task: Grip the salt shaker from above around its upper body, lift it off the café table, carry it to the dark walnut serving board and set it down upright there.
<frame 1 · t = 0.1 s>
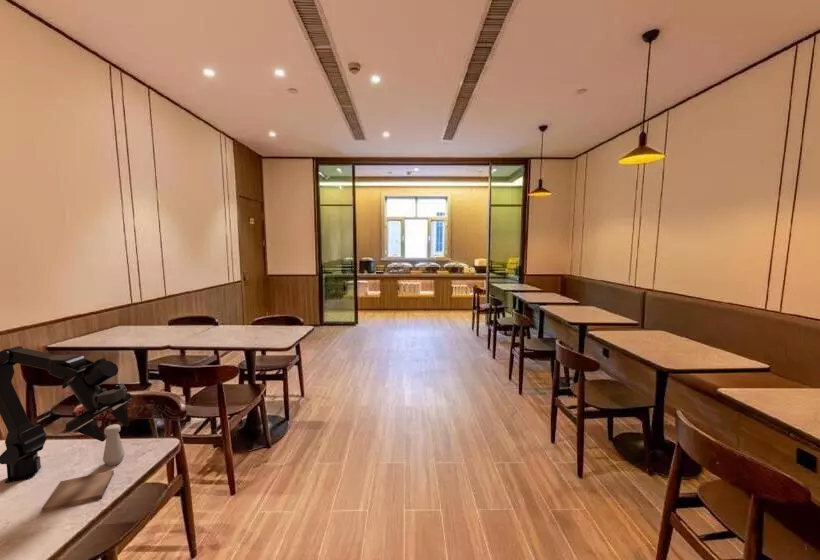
hand: (116, 433, 115), 15 cm above the table, tool tilted 30°, fingers open, 9 cm apart
walnut board: (80, 491, 109), on the table
salt shaker: (114, 463, 124), on the table
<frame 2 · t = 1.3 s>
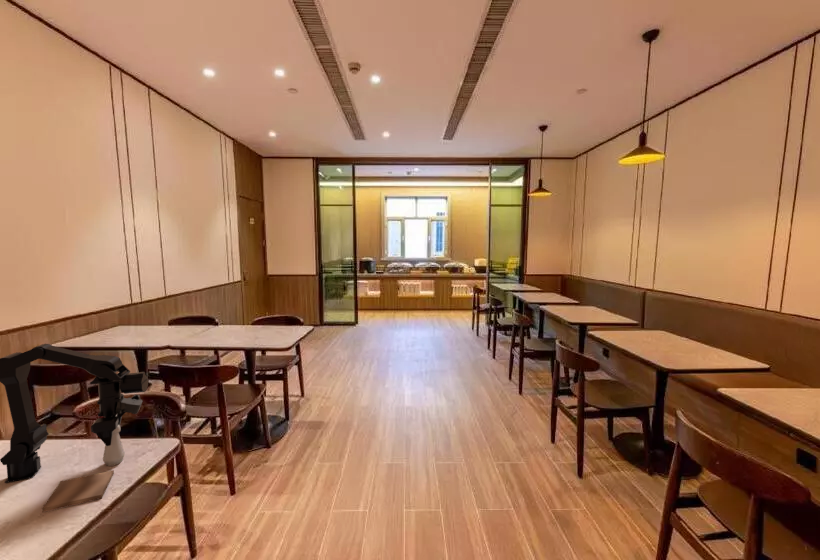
hand: (112, 439, 123), 8 cm above the table, tool pointing down, fingers open, 9 cm apart
nothing on the table moved.
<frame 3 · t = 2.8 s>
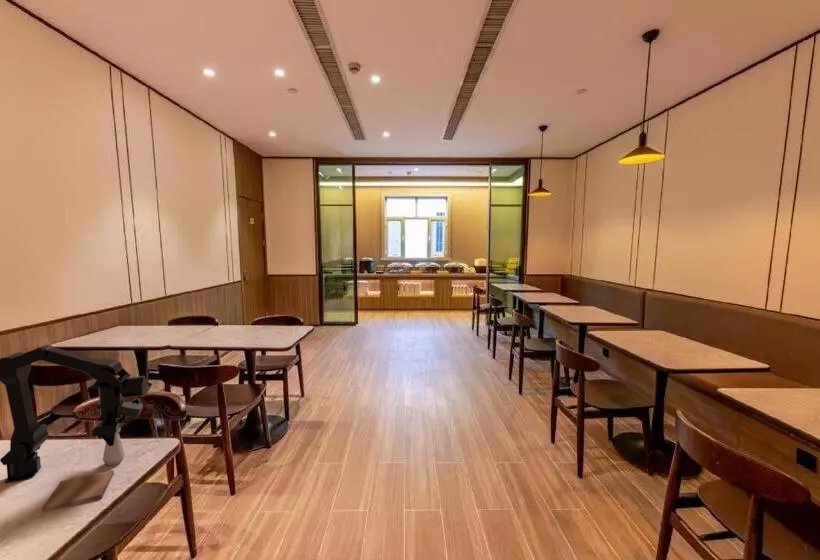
hand: (113, 443, 123), 7 cm above the table, tool pointing down, fingers closed on salt shaker, 3 cm apart
salt shaker: (114, 463, 124), on the table, touching gripper
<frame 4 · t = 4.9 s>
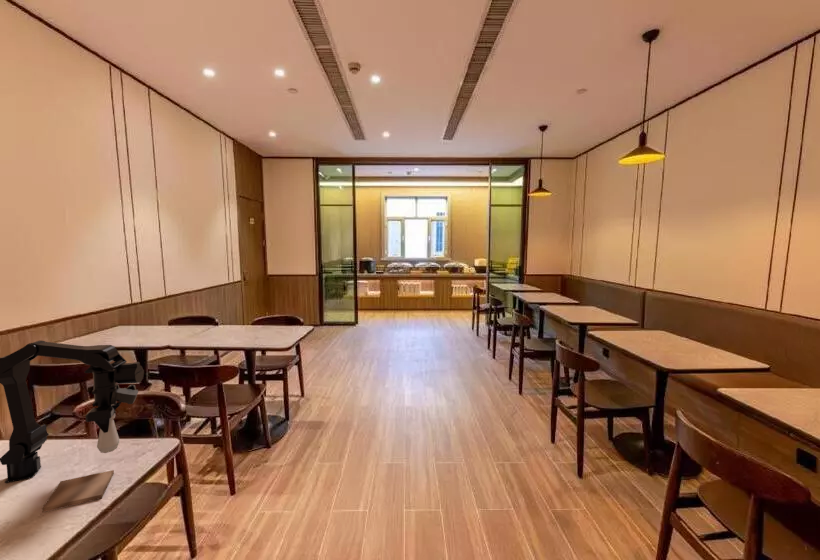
hand: (107, 429, 121), 13 cm above the table, tool pointing down, fingers closed on salt shaker, 3 cm apart
salt shaker: (108, 450, 121), point 6 cm above the table, touching gripper
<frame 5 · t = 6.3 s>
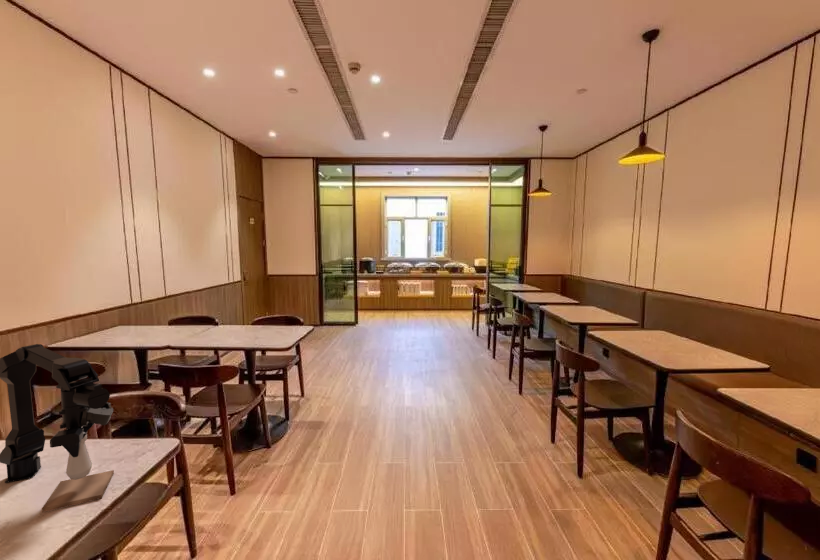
hand: (78, 453, 108), 12 cm above the table, tool pointing down, fingers closed on salt shaker, 3 cm apart
salt shaker: (79, 476, 109), point 5 cm above the table, touching gripper
when the fingers open (9 cm above the table, at t = 7.5 s): salt shaker stays where it is, resting on walnut board.
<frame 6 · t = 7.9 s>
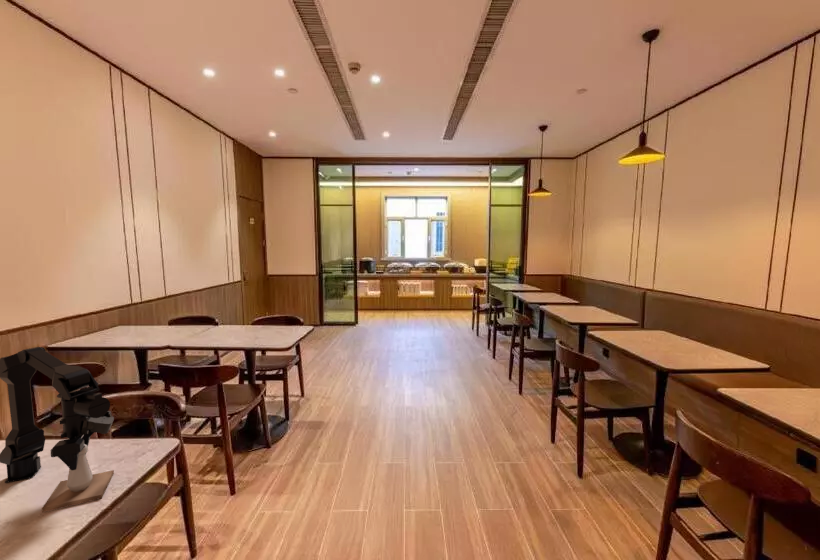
hand: (78, 462, 108), 9 cm above the table, tool pointing down, fingers open, 8 cm apart
salt shaker: (80, 488, 109), point 1 cm above the table, touching walnut board
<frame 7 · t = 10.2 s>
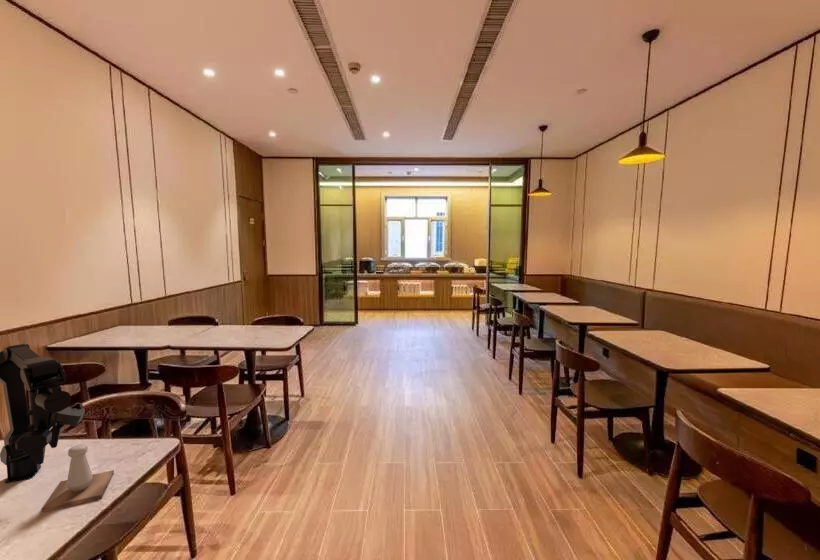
hand: (47, 455, 106), 13 cm above the table, tool pointing down, fingers open, 9 cm apart
nothing on the table moved.
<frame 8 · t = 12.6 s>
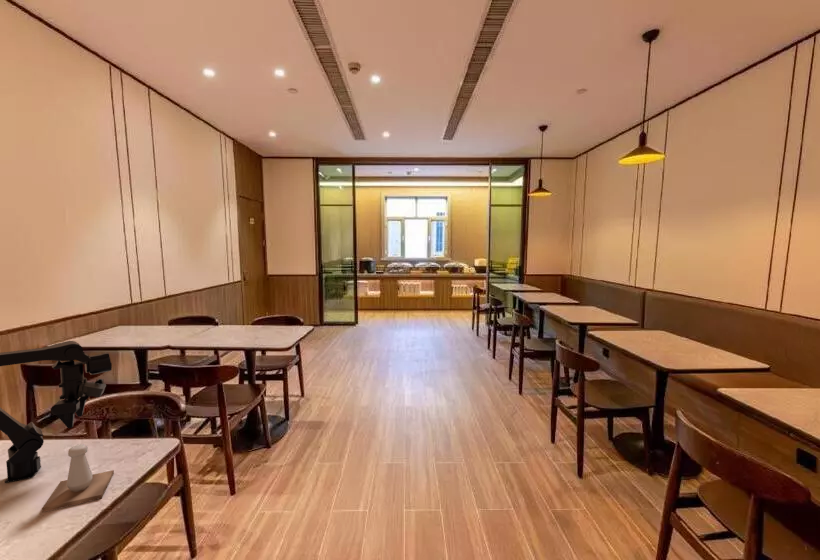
hand: (75, 422, 125), 13 cm above the table, tool pointing down, fingers open, 9 cm apart
nothing on the table moved.
at the end: salt shaker inside the target area on the walnut board (0.1 cm from its centre), point 1.0 cm above the walnut board's base; salt shaker tilted 0°; the gripper is holding nothing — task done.
